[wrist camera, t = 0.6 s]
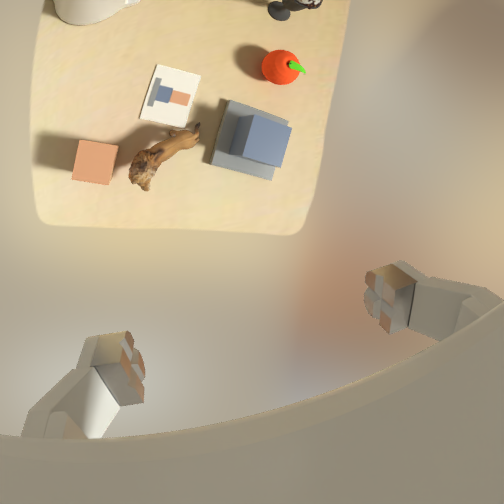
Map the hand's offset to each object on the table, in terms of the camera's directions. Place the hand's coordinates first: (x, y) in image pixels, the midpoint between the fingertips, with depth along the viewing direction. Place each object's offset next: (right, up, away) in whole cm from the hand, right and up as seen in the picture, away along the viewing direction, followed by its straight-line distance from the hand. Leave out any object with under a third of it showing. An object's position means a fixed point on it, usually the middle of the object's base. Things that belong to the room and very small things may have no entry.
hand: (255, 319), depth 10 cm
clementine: (+4, +36, +40) cm, 54 cm away
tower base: (-1, +22, +43) cm, 48 cm away
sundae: (+5, +50, +35) cm, 61 cm away
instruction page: (-14, +28, +34) cm, 47 cm away
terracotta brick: (-25, +17, +33) cm, 45 cm away
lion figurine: (-15, +19, +38) cm, 45 cm away
